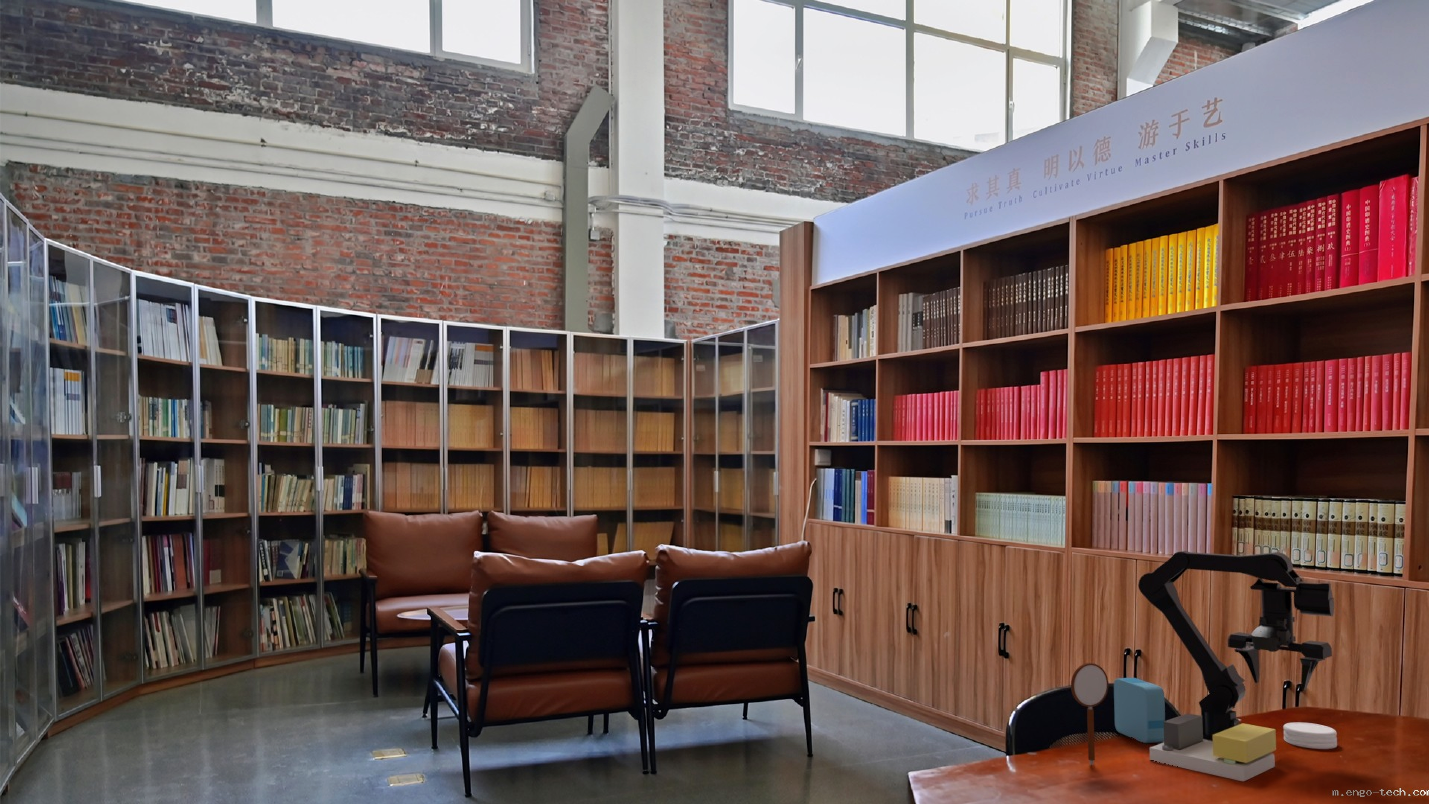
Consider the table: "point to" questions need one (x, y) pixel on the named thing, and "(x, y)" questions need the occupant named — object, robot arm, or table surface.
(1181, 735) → the block
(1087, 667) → the magnifying glass
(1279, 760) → the table surface
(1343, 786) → the table surface
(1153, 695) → the data package
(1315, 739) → the coaster
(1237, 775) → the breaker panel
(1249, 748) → the pale yellow pad
